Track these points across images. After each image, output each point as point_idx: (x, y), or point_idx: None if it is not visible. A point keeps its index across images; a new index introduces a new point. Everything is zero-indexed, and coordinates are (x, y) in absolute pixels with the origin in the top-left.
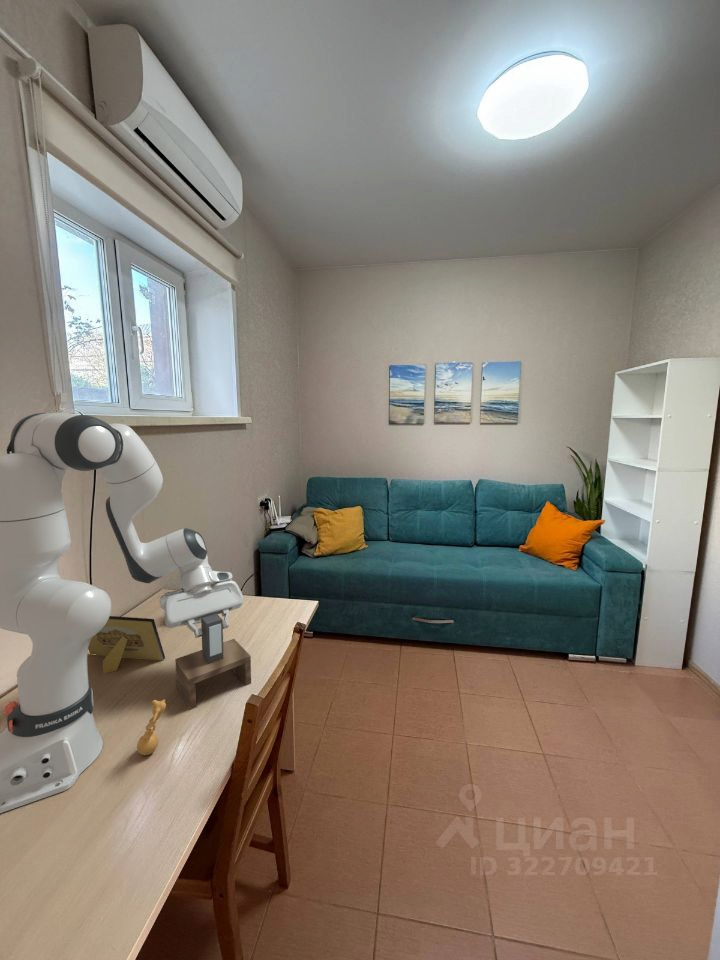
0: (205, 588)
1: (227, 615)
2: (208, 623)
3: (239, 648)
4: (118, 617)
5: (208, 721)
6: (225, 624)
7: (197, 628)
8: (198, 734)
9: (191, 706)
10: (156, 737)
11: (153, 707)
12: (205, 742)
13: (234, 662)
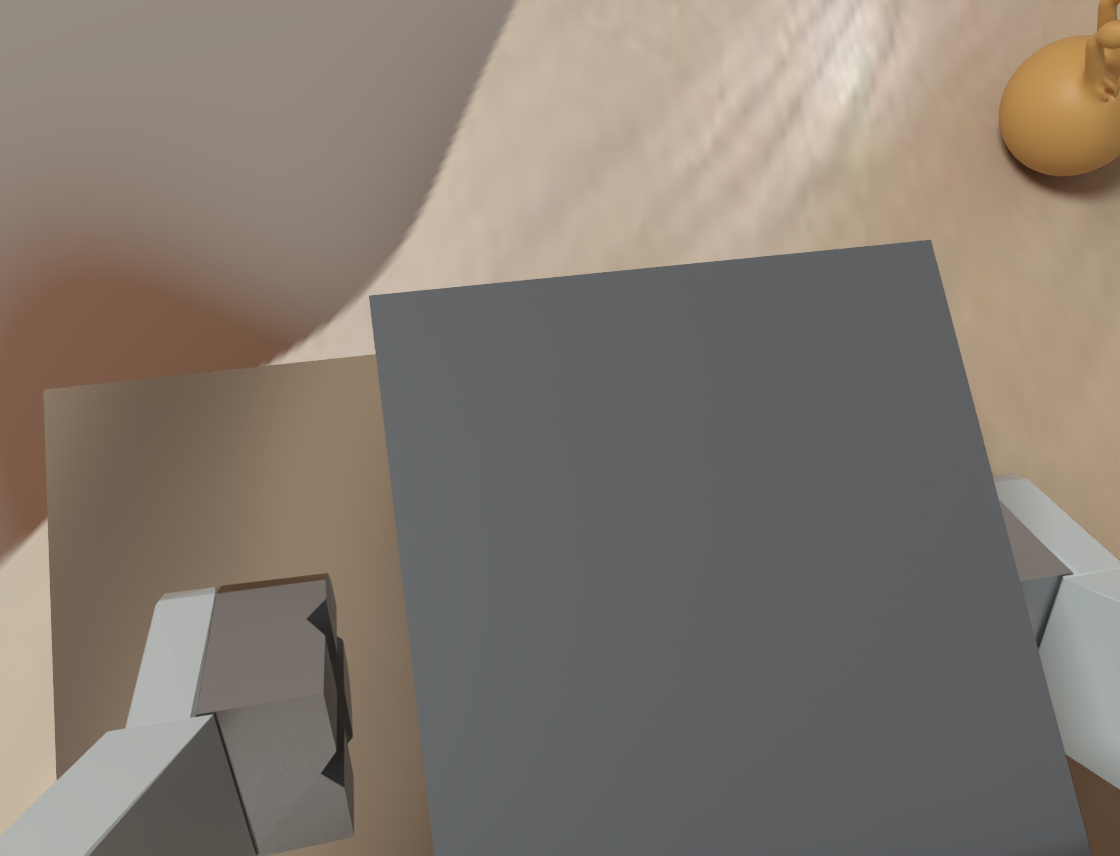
0: None
1: (27, 848)
2: (881, 254)
3: (109, 684)
4: None
5: (642, 199)
6: (247, 610)
7: (1070, 578)
8: (726, 116)
9: None
10: (1038, 75)
11: None
12: (693, 24)
13: (305, 365)
